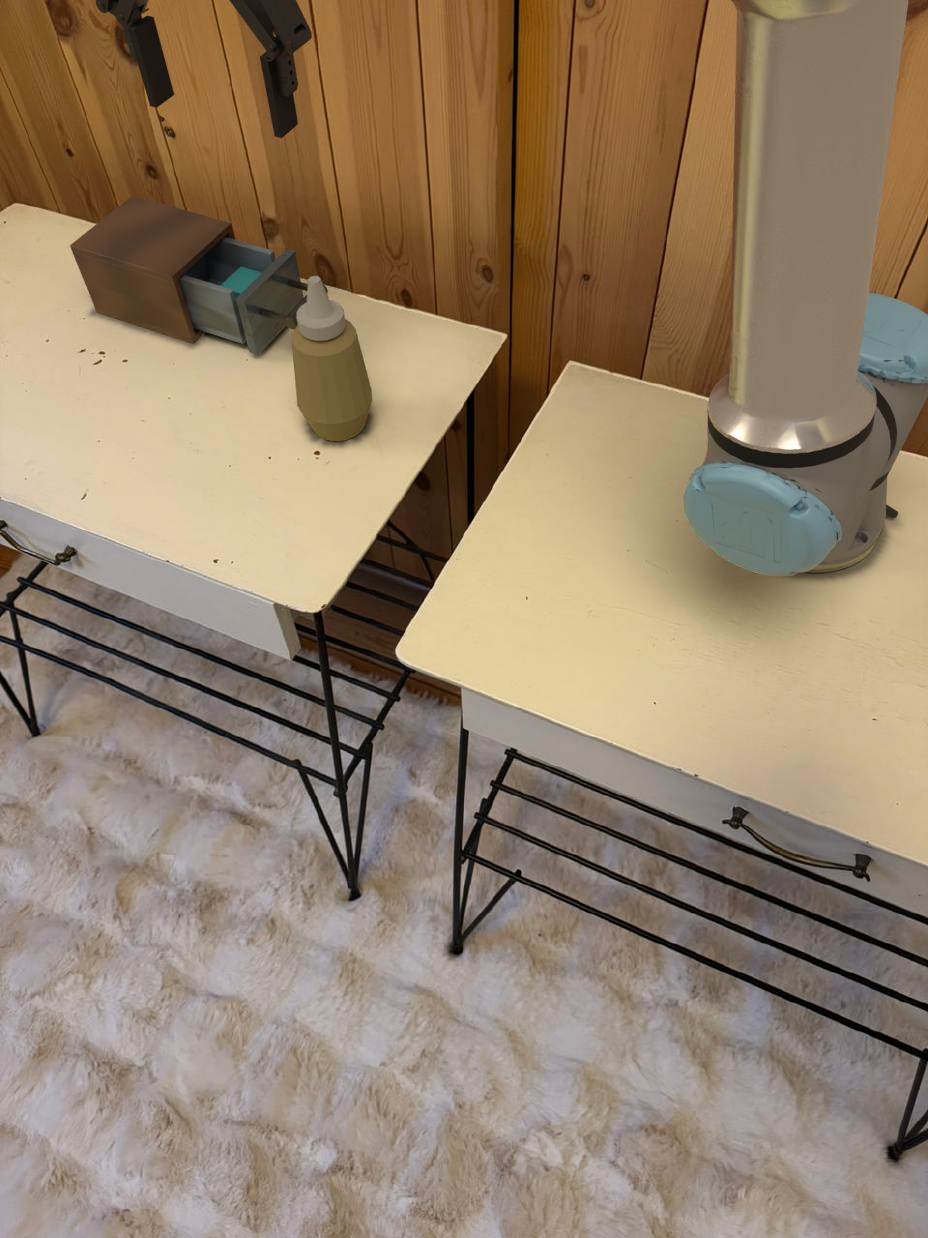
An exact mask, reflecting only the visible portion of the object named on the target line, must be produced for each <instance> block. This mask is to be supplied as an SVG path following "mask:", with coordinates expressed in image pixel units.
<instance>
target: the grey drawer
mask: <svg viewBox="0 0 928 1238" xmlns="http://www.w3.org/2000/svg"><path fill="white" fill-rule="evenodd" d="M240 267H245V268H248V269H251V270H255V271H258V272H261V274H260V275H259V276H258V277H257V278H256V279H255V280H254V281H253V282H252V283H251V284H250V285H249V286H248V287H247V288H246V289H245V290H244V291H243V292H242V293H241V294H240V295H239V296H238V297H237V298H235V294H234V290H232V289H229V288H225V287H222V286H220V285H222V284H223V283H224V282H225V281H226V280H227V279H228V278H229V277H230V276H231V275H232V274H233V273H234V272H235V271H236V270H238V269H239V268H240ZM178 280H179V284H180V287H181V290H182V293H183V296H184V300H185V303H186V306H187V309H188V312H189V316H190V319H191V322H192V325H193V328H195V329H198V330H201V331H204V332H205V333H207V334H211V335H215V336H217V337H220V338H223V339H226V340H229V341H233V342H235V343H239V344H241V345H242V344H245V342H246V344H247V347H248V351H249V353H250V354H253V355H255V356H259V355H260V354H261V353H262V352H263V351H264V350H265V349H266V348H267V347H268V346H269V344H270V343H271V342H272V341H273V340H274V339H275V338H277V336H278V335H279V334H280V333H281V332H282V330H284V329H285V328H286V327H287V328H288V329H289V330H295V328H296V327H297V326H298V323H297V311H298V310H299V308H300V307H301V306H302V305H303V304H305V303H306V302H307V294H305V296H304V292H307V290H308V283H307V282H306V283H305V282H302V281H301V275H300V269H299V264H298V258H297V254H296V251H295V250H292V249H289V248H286V249H284V251H282V252H281V254H280V255H279V256H277V258H276V254H275V250H273V249H270V248H266V247H261V246H259V245H254V244H252V243H247V242H244V241H240V240H238V239H235V240H234V239H231V238H227V237H224V238H222V239H221V240H220V241H219V242H218V243H217V244H216V245H215V246H214V247H213V248H211V249H210V250H209V251H208V252H207V253H206V254H205V255H204V256H203V257H202V258H201V259H199V260H198V261H197V262H196V263H195V264H194V265H193V266H192V267H191V268H190V269H188V270H187V271H186V272H185V273H184V274H183V275H182V276H181V277H180V278H179V279H178ZM322 284H323V286H324V288H325V291H326V293H327V295H328V294H329V290H328V287H327V286H326V285H325V284H324V283H322Z"/></svg>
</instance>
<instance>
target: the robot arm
mask: <svg viewBox="0 0 928 1238" xmlns="http://www.w3.org/2000/svg"><path fill="white" fill-rule="evenodd" d="M228 1H229V2H230V3H231V6H233V8H234V9H235V11H237V13H238V14H239V16H240V17H241V18H242V20H243V21H244V23H245V24H246V25H247V26H248V28H249V29H250V31H251V32H252V33H253V35H254V36H255V37H256V39H257V40H258V41H259V43H260V45H261V46H262V47H263V48H264V50H265V52H263V53H262V54H261V55H259V61H260V66H261V71H262V77H263V83H264V88H265V93H266V98H267V104H268V108H269V114H270V115H269V116H270V120H271V125H272V131H273V135H274V137H275V138H279V139H283V138H284V137H285V136H286V135H288V134H289V133H290V132H291V131H292V130H293V129H294V128H296V127H297V126H298V125H299V120H298V114H297V108H296V101H295V97H294V93H295V92H296V91H297V90H298V87H299V80H298V74H297V67H296V63H295V56H294V53H295V52H297V51H298V50H299V49H300V48H302V47H303V46H305V45H306V44H307V43H308V42H310V41H311V40H312V37H313V33H312V30H311V28H310V25H309V24H308V22H307V20H306V18H305V15H304V14H303V12H302V10H301V7H300V5H299V3H298V1H297V0H228ZM730 1H731V3H732V4H733V6H734V8H735V10H736V29H735V30H736V32H735V33H736V35H735V40H736V41H735V76H734V77H735V78H734V81H735V83H734V89H735V90H734V124H733V125H734V129H733V130H734V131H733V134H734V135H733V173H732V174H733V177H732V178H733V180H732V183H733V184H732V221H731V223H732V226H731V227H732V229H731V271H730V273H731V274H730V275H731V276H730V277H731V278H730V318H729V319H730V320H729V321H730V322H729V324H730V325H729V367H728V368H729V369H728V371H729V372H728V373H726V374H724V375H723V376H722V377H721V378H720V379H719V380H718V381H717V382H716V383H715V385H714V386H713V388H712V389H711V391H710V393H709V397H708V402H707V450H706V455H705V458H704V461H703V463H702V464H701V465H700V466H698V467H696V469H694V470H693V472H692V473H691V476H690V477H689V479H688V480H689V481H688V483H687V484H686V486H685V489H684V491H683V495H682V505H683V511H684V514H685V517H686V520H687V523H688V524H689V526H690V527H691V529H692V530H693V532H694V533H695V535H697V537H698V538H699V539H700V540H701V541H702V543H704V544H705V545H706V546H708V547H709V548H710V549H711V550H712V551H713V553H715V554H716V555H717V556H719V557H720V558H722V559H724V560H725V561H728V562H729V563H731V564H732V565H734V566H736V567H739V568H741V569H743V570H746V571H749V572H752V573H756V574H760V575H764V576H769V577H791V576H795V575H798V574H799V573H801V574H802V573H811V574H812V573H814V574H815V573H816V574H817V573H818V574H819V573H829V572H836V571H839V570H843V569H846V568H849V567H851V566H854V565H855V564H857V563H859V562H861V561H862V560H863V559H864V558H866V557H867V556H868V555H869V554H870V553H871V552H872V550H873V549H874V547H875V545H876V543H878V540H879V538H880V537H881V534H882V532H883V530H884V526H885V522H886V517H887V516H889V517H890V518H892V519H896V518H897V517H898V515H899V511H898V510H896V509H895V508H893V507H892V506H890V505H888V504H887V499H888V498H887V496H888V495H887V493H888V476H889V474H890V472H891V470H892V468H893V466H894V464H895V462H896V460H897V458H898V456H899V454H900V453H901V450H902V448H903V446H904V445H905V442H906V441H907V439H908V436H909V434H910V433H911V430H912V428H913V426H914V424H915V423H916V420H917V419H918V417H919V414H920V412H921V411H922V408H923V406H924V404H925V402H926V401H927V398H928V313H926V312H924V311H922V310H921V309H919V308H918V307H916V306H914V305H912V304H910V303H908V302H905V301H903V300H900V299H898V298H894V297H891V296H887V295H884V294H880V293H875V292H870V286H871V279H872V278H871V277H872V270H873V263H874V258H875V257H874V255H875V250H876V240H877V234H878V227H879V220H880V212H881V205H882V204H881V203H882V197H883V190H884V183H885V175H886V168H887V160H888V154H889V145H890V139H891V131H892V124H893V116H894V109H895V104H896V103H895V101H896V95H897V88H898V81H899V74H900V73H899V72H900V65H901V59H902V50H903V44H904V43H903V42H904V35H905V29H906V20H907V14H908V9H909V8H908V6H909V0H730ZM148 2H149V0H95V6H96V8H97V9H98V10H99V12H100V13H101V14H107V13H109V14H111V15H113V16H114V17H115V19H116V21H117V23H118V24H120V25H121V26H122V29H123V33H124V37H125V40H126V43H127V47H128V50H129V55H130V57H131V58H132V60H133V62H134V63H137V66H138V69H139V73H140V76H141V80H142V84H143V86H144V91H145V95H146V97H147V101H148V103H149V107H152V108H156V109H157V108H158V107H160V106H162V105H163V104H165V102H167V101H168V100H170V99H171V98H173V97H174V96H175V92H174V88H173V84H172V81H171V76H170V73H169V68H168V64H167V62H166V57H165V54H164V51H163V46H162V43H161V39H160V35H159V32H158V27H157V24H156V20H155V17H154V16H150V15H145V16H144V17H143V15H144V14H145V13H147V12H148V11H149V10H150V8H149V7H147V5H148Z"/></svg>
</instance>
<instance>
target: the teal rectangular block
mask: <svg viewBox="0 0 928 1238" xmlns="http://www.w3.org/2000/svg"><path fill="white" fill-rule="evenodd" d="M260 274H261V272H258V271H255V270H251V269H248V268H245V267H240V268H239V269H238V270H236V271H235V272H234V273H233V274H232V275H231V276H230V277H229V278H228V279H227V280H226V281H225V282H224V283H223V284H222V285H220V286H222V287H225V288H229V289H232V290H234V294H235V298H237V297H238V296H239V295H240V294H241V293H242V292H243V291H244V290H245V289H246V288H247V287H248V286H249V285H250V284H251V283H252V282H253V281H254V280H255V279H256V278H257V277H258V276H259V275H260Z"/></svg>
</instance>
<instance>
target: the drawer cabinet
mask: <svg viewBox="0 0 928 1238" xmlns="http://www.w3.org/2000/svg"><path fill="white" fill-rule="evenodd" d="M224 237H227V238H231V239H234V240H236V236H235V232H234V228H233V224H232V222H229V221H225V220H222V219H218V218H215V217H211V216H207V215H203V214H200V213H197V212H193V211H189V210H186V209H182V208H178V207H175V206H171V205H169V204H164V203H161V202H157V201H154V200H150V199H146V198H143V197H140V196H136V195H131V196H129V197H128V198H127V199H125V201H124V202H122V203H121V204H120V205H118V206H117V207H116V208H115V209H114V210H112V211H111V212H110V213H108V214H107V215H106V216H105V217H103V218H102V219H100V221H98V222H97V223H96V224H95V225H93V226H92V227H91V228H90V229H88V230H87V231H86V232H85V233H84V234H82V235H81V236H80V237H79V238H77V239H76V240H75V241H73V242H72V243H71V244H70V245H69V248H70V250H71V253H72V255H73V257H74V261H75V262H76V265H77V268H78V270H79V272H80V275H81V277H82V280H83V282H84V284H85V287H86V290H87V292H88V294H89V297H90V299H91V302H92V304H93V307H94V309H95V311H96V313H98V314H100V315H104V316H107V317H110V318H113V319H116V320H119V321H123V322H125V323H128V324H132V325H133V326H138V327H140V328H143V329H147V330H150V331H153V332H156V333H159V334H162V335H165V336H168V337H170V338H174V339H177V340H181V341H182V342H186V343H190V344H192V345H194V344H195V343H196V342H197V341H198V340H199V339H200V338H201V337H202V336H203V335H204V334H205V333H206V332H204V331H201V330H198V329H195V328H193V325H192V322H191V319H190V316H189V312H188V309H187V306H186V303H185V300H184V296H183V293H182V290H181V287H180V284H179V280H178V279H179V278H180V277H181V276H182V275H183V274H184V273H185V272H186V271H187V270H188V269H190V268H191V267H192V266H193V265H194V264H195V263H196V262H197V261H198V260H199V259H201V258H202V257H203V256H204V255H205V254H206V253H207V252H208V251H209V250H210V249H211V248H213V247H214V246H215V245H216V244H217V243H218V242H219V241H220V240H221V239H222V238H224Z"/></svg>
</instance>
